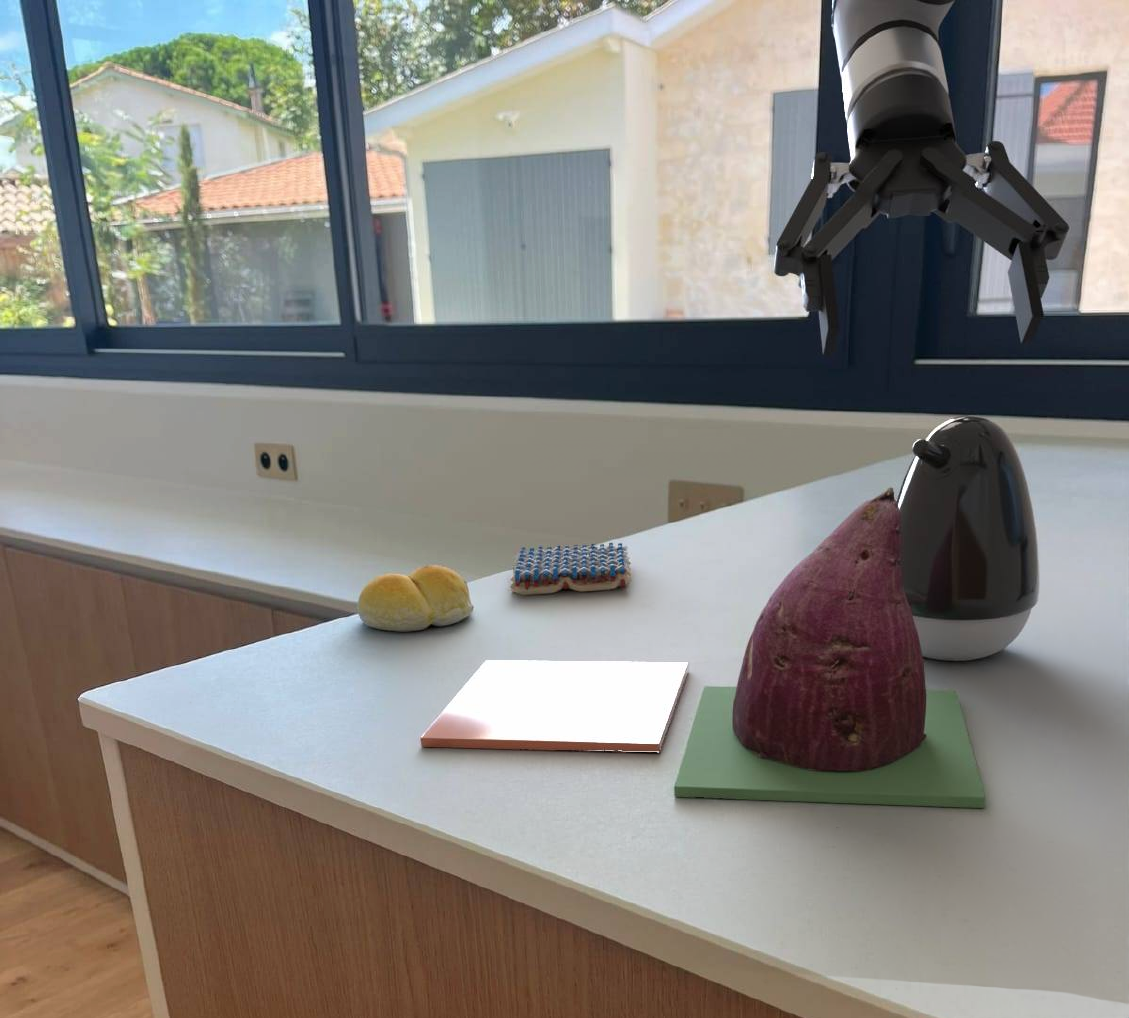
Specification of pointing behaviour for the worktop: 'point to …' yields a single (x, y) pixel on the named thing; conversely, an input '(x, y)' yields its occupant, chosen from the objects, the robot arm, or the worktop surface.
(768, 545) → the worktop surface
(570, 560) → the woven mat
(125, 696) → the worktop surface
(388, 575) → the bread roll
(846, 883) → the worktop surface
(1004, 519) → the pump dispenser
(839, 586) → the vegetable
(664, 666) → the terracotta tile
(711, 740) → the green mat
